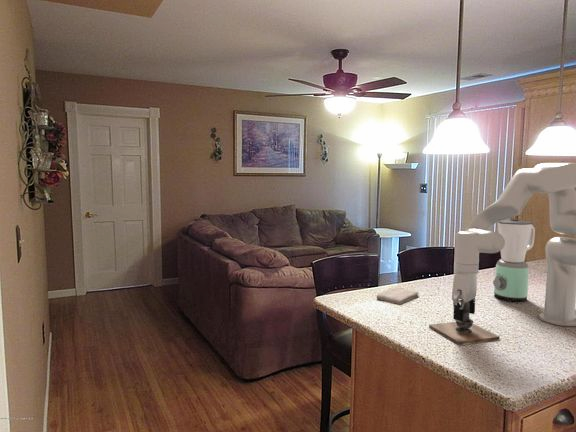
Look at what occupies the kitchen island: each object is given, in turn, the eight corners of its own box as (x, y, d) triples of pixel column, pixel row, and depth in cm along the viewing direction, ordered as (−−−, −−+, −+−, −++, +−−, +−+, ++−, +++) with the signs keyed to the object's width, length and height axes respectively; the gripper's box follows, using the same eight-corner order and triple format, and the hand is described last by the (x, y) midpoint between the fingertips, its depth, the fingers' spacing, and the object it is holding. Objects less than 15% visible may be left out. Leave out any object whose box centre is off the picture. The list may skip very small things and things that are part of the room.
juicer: (508, 304, 179) (513, 222, 175) (483, 295, 192) (487, 218, 188) (541, 300, 186) (547, 220, 182) (515, 292, 198) (520, 217, 194)
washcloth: (419, 296, 192) (420, 290, 191) (401, 306, 178) (401, 299, 178) (395, 291, 199) (395, 285, 199) (375, 300, 186) (376, 293, 186)
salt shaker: (457, 326, 152) (459, 293, 150) (475, 330, 148) (477, 296, 147) (452, 330, 147) (453, 296, 146) (470, 335, 143) (471, 300, 142)
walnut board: (466, 323, 157) (467, 320, 157) (499, 339, 142) (499, 336, 142) (429, 327, 153) (429, 324, 153) (458, 344, 138) (458, 341, 138)
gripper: (465, 262, 154) (463, 308, 156) (444, 270, 142) (442, 320, 143) (487, 265, 149) (484, 312, 151) (467, 274, 136) (465, 325, 138)
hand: (464, 316), depth 147 cm, fingers open, 9 cm apart
